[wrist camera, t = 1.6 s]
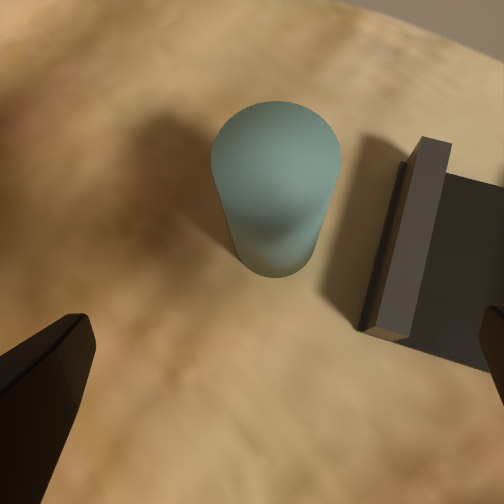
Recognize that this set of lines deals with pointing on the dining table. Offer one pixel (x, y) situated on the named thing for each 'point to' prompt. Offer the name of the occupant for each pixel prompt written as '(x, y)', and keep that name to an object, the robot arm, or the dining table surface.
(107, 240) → the dining table surface
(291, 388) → the dining table surface
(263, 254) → the teal peg
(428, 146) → the rail dock
